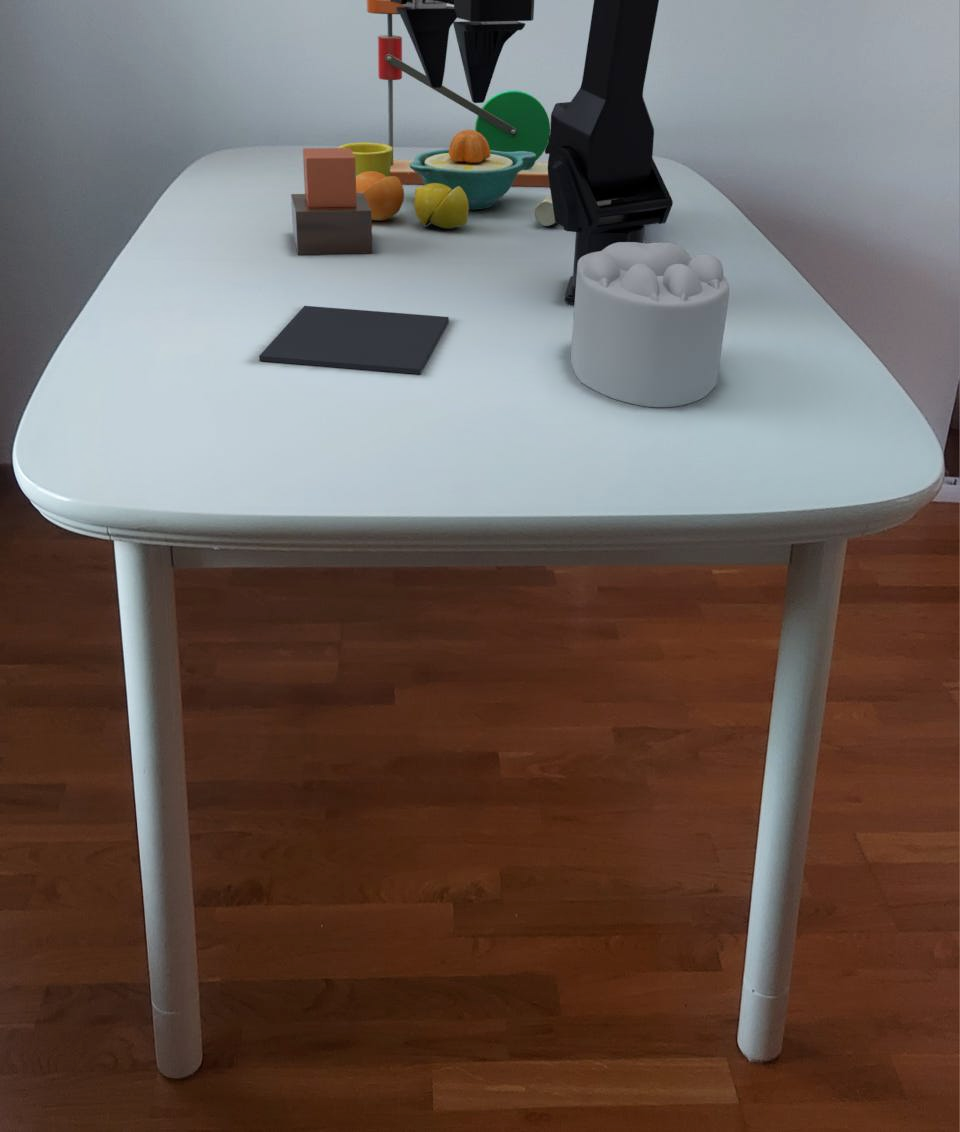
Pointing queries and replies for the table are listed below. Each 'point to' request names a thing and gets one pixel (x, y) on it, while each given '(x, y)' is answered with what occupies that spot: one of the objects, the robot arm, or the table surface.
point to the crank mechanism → (501, 119)
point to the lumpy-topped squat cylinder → (649, 323)
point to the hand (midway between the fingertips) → (456, 94)
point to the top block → (329, 177)
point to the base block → (331, 227)
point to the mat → (357, 339)
